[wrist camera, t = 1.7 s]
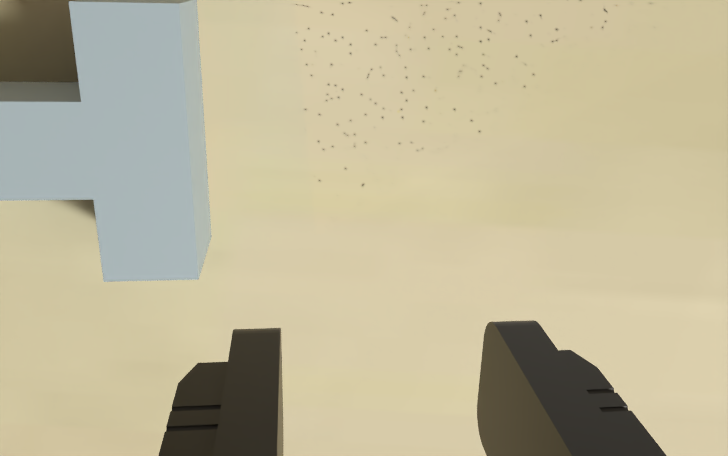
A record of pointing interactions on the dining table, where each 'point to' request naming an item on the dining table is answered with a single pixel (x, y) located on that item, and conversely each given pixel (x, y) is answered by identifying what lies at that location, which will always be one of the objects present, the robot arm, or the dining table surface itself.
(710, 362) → the dining table surface
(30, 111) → the block
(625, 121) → the dining table surface
